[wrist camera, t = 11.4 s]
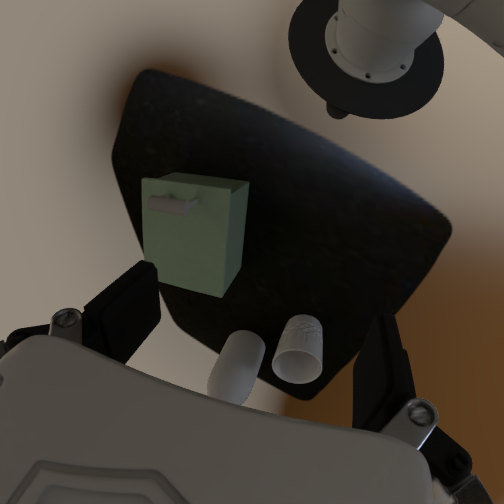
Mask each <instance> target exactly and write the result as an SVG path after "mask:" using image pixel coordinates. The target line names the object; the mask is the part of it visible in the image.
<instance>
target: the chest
mask: <svg viewBox="0 0 504 504" xmlns="http://www.w3.org/2000/svg"><path fill="white" fill-rule="evenodd" d="M158 179H163V180H172V181H180V182H188V183H196V184H203V185H211V186H218V187H225V188H231V199H230V211H229V223H228V236H227V249H226V263H225V277H224V292H223V295H224V293H225V292H226V290H227V289H228V287H229V285H230V284H231V282H232V281H233V279H234V278H235V276H236V274H237V273H238V271H239V270H240V268H241V260H242V250H243V240H244V230H245V220H246V211H247V201H248V191H249V182H247V181H240V180H233V179H226V178H218V177H211V176H203V175H194V174H186V173H176V172H175V173H172V174H169V175H166V176H163V177H160V178H158Z"/></svg>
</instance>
